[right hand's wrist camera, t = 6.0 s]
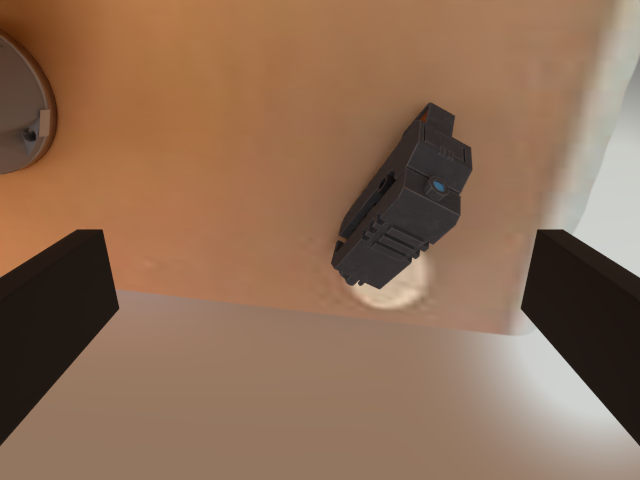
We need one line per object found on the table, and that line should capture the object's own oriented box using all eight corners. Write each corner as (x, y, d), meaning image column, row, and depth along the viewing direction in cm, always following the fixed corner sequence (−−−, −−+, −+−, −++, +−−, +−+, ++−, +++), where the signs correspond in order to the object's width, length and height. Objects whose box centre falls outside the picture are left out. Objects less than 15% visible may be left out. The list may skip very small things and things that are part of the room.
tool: (474, 110, 41) (478, 214, 31) (379, 220, 55) (361, 314, 45) (422, 81, 40) (410, 179, 30) (339, 200, 54) (312, 293, 44)
